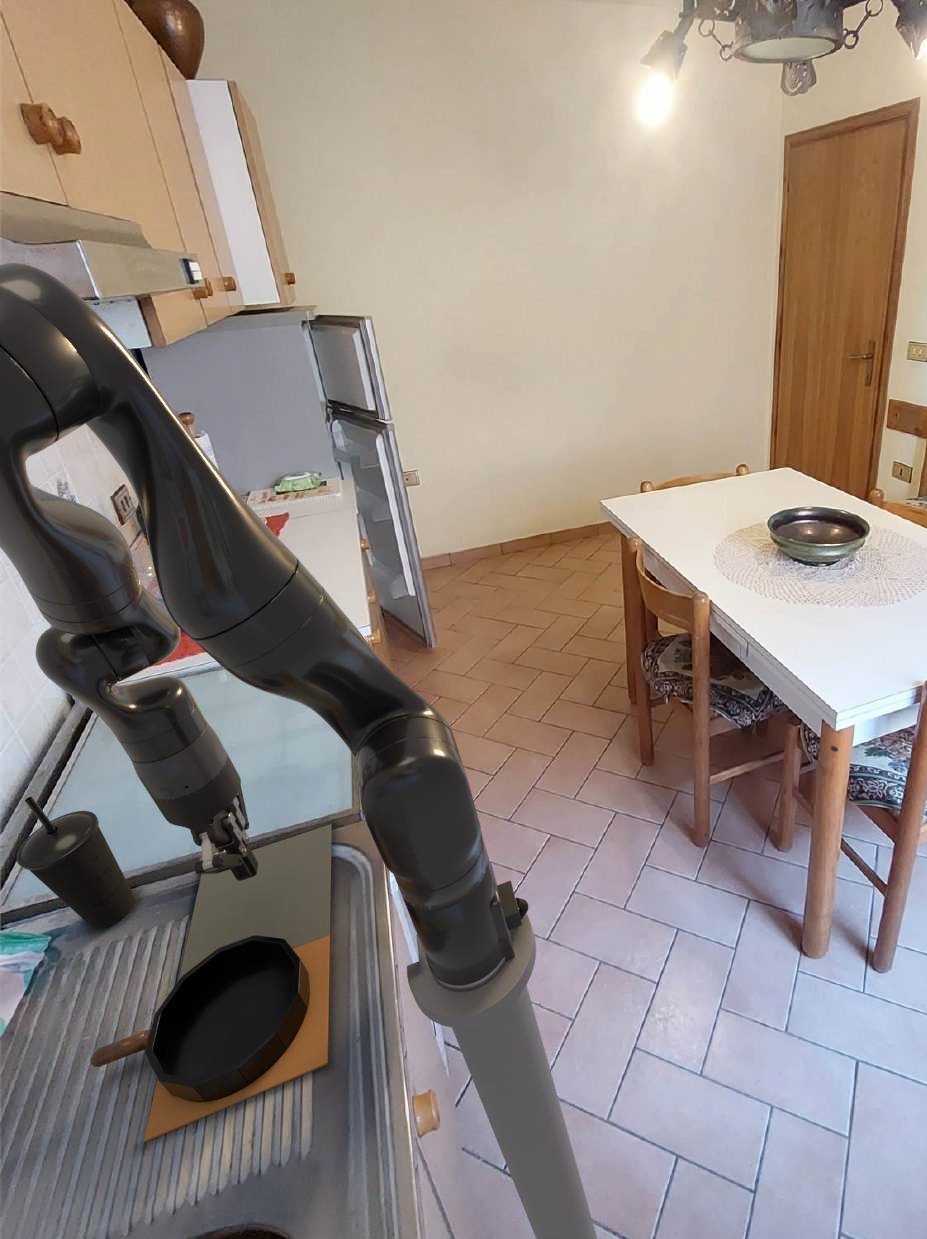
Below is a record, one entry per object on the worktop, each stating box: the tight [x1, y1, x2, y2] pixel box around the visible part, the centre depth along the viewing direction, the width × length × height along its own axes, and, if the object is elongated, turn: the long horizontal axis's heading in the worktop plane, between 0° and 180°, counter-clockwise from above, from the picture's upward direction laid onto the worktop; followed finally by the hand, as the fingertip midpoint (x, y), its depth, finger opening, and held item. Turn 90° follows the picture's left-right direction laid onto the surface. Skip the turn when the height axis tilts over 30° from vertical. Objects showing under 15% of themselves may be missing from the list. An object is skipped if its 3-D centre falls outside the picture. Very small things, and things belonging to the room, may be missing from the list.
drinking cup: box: [16, 796, 136, 930], centre depth 77 cm, size 8×8×20 cm
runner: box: [143, 823, 333, 1143], centre depth 75 cm, size 16×31×1 cm, turn 20°
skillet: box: [90, 935, 310, 1102], centre depth 67 cm, size 19×14×4 cm
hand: (248, 873), depth 78 cm, fingers closed
